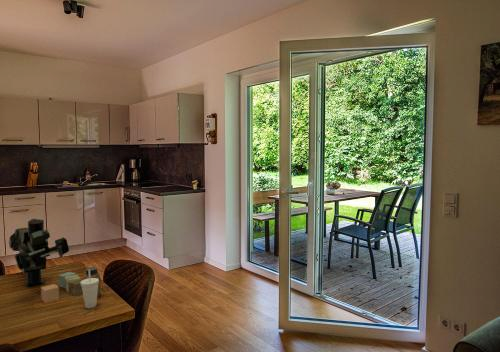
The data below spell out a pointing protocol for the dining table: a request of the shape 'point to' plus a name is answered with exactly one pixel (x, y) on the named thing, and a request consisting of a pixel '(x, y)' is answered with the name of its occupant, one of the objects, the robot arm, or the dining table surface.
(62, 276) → the slate block
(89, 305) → the smoothie
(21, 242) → the robot arm
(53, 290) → the terracotta block
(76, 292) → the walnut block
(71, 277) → the maple block
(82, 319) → the dining table surface
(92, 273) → the supplement bottle
